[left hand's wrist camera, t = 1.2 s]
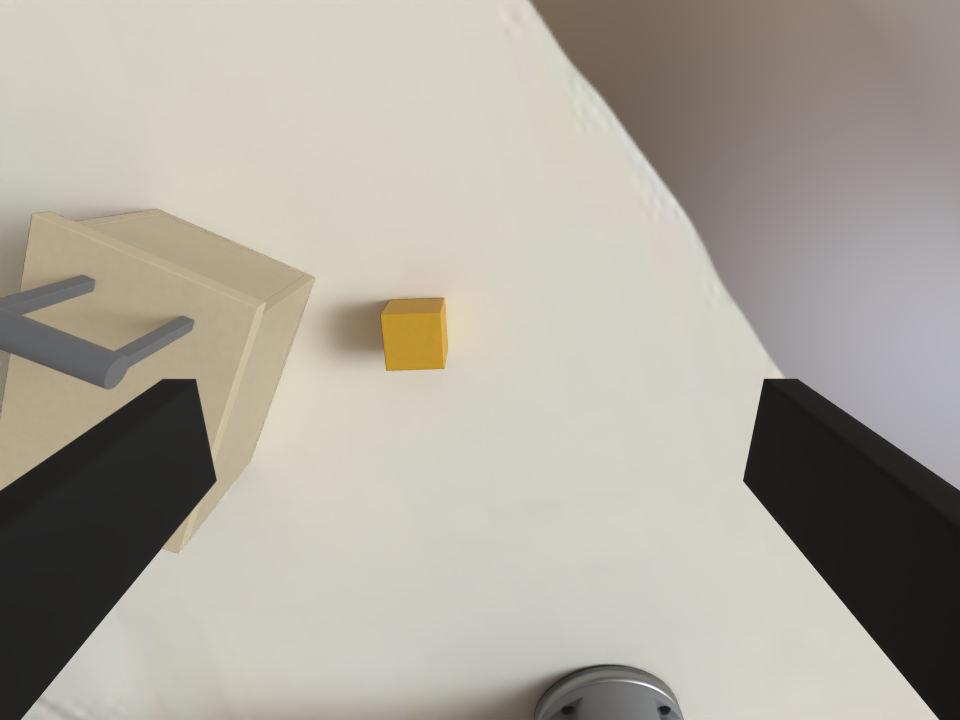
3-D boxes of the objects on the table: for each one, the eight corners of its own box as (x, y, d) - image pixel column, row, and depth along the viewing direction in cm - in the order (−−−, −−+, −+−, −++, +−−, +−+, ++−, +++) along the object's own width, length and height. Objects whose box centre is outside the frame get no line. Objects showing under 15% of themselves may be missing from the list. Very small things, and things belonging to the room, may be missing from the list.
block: (389, 299, 40) (380, 314, 36) (444, 297, 40) (441, 312, 36) (394, 351, 42) (386, 371, 38) (448, 349, 41) (444, 369, 38)
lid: (49, 210, 28) (-129, 231, 20) (266, 302, 30) (185, 356, 21) (4, 478, 34) (-148, 580, 25) (188, 542, 35) (101, 656, 27)
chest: (157, 208, 38) (47, 224, 28) (315, 277, 39) (263, 314, 30) (110, 408, 43) (5, 478, 34) (250, 460, 45) (189, 541, 35)
